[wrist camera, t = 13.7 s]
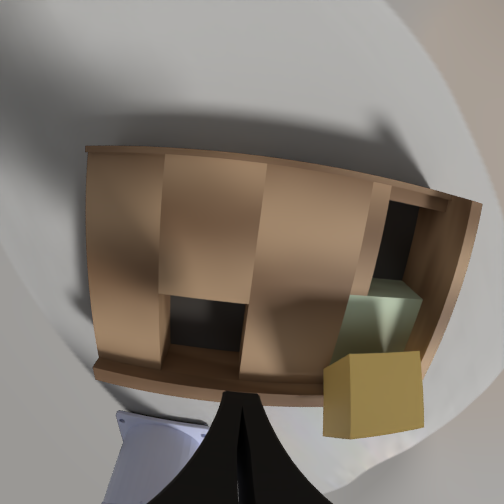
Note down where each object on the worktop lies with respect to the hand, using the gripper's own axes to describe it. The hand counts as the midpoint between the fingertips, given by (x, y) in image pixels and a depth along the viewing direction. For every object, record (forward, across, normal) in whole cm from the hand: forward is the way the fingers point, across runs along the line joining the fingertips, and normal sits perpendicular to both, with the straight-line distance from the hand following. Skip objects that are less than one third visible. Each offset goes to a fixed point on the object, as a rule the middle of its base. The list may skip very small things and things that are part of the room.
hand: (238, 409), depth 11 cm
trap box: (+8, -1, -3) cm, 8 cm away
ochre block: (+3, -7, 0) cm, 8 cm away
